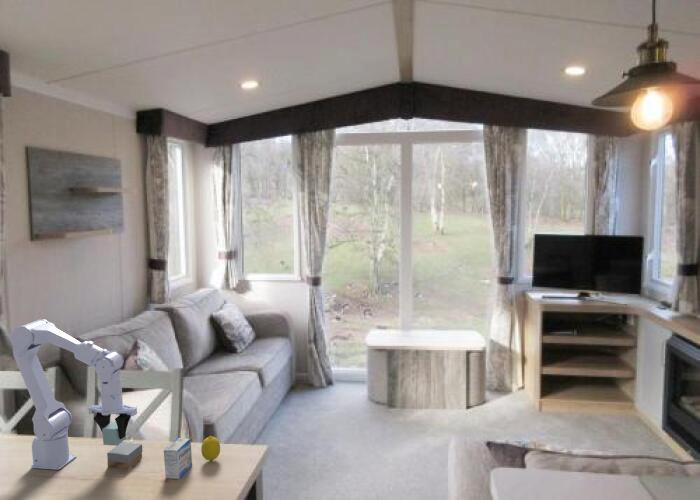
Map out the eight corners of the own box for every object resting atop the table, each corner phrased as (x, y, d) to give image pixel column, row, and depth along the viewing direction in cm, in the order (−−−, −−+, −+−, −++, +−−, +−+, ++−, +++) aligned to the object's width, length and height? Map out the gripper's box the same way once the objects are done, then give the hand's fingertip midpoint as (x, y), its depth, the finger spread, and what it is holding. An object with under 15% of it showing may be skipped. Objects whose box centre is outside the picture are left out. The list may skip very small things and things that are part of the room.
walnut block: (107, 469, 158) (107, 461, 157) (121, 457, 165) (121, 449, 164) (129, 470, 157) (128, 462, 156) (142, 458, 164) (141, 451, 163)
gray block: (107, 460, 158) (107, 452, 157) (122, 449, 165) (122, 441, 164) (128, 463, 156) (127, 455, 156) (142, 451, 163) (142, 444, 163)
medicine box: (179, 479, 150) (177, 451, 149) (164, 478, 151) (163, 449, 150) (192, 465, 158) (191, 438, 157) (179, 464, 159) (177, 437, 158)
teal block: (103, 444, 156) (102, 428, 156) (112, 437, 161) (111, 422, 160) (117, 445, 155) (116, 429, 155) (126, 438, 160) (125, 422, 159)
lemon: (198, 464, 159) (196, 438, 158) (209, 455, 164) (208, 430, 163) (213, 467, 157) (212, 441, 156) (224, 458, 162) (223, 433, 161)
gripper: (80, 397, 154) (84, 441, 155) (126, 399, 151) (129, 444, 153) (95, 388, 160) (99, 431, 162) (139, 390, 158) (142, 433, 160)
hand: (114, 437), depth 158 cm, fingers closed on teal block, 4 cm apart
